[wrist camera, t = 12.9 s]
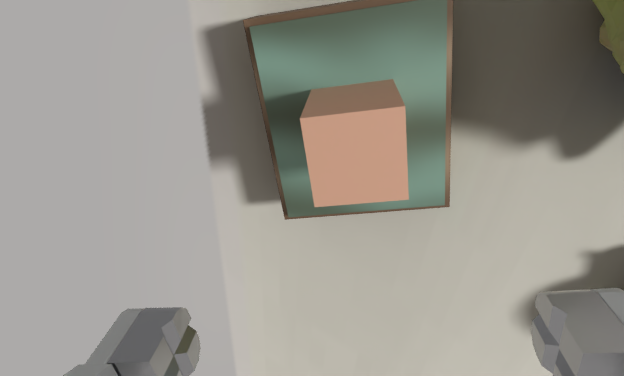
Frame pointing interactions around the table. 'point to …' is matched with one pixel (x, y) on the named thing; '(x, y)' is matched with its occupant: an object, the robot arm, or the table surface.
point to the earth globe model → (612, 28)
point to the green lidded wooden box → (352, 70)
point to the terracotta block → (356, 144)
